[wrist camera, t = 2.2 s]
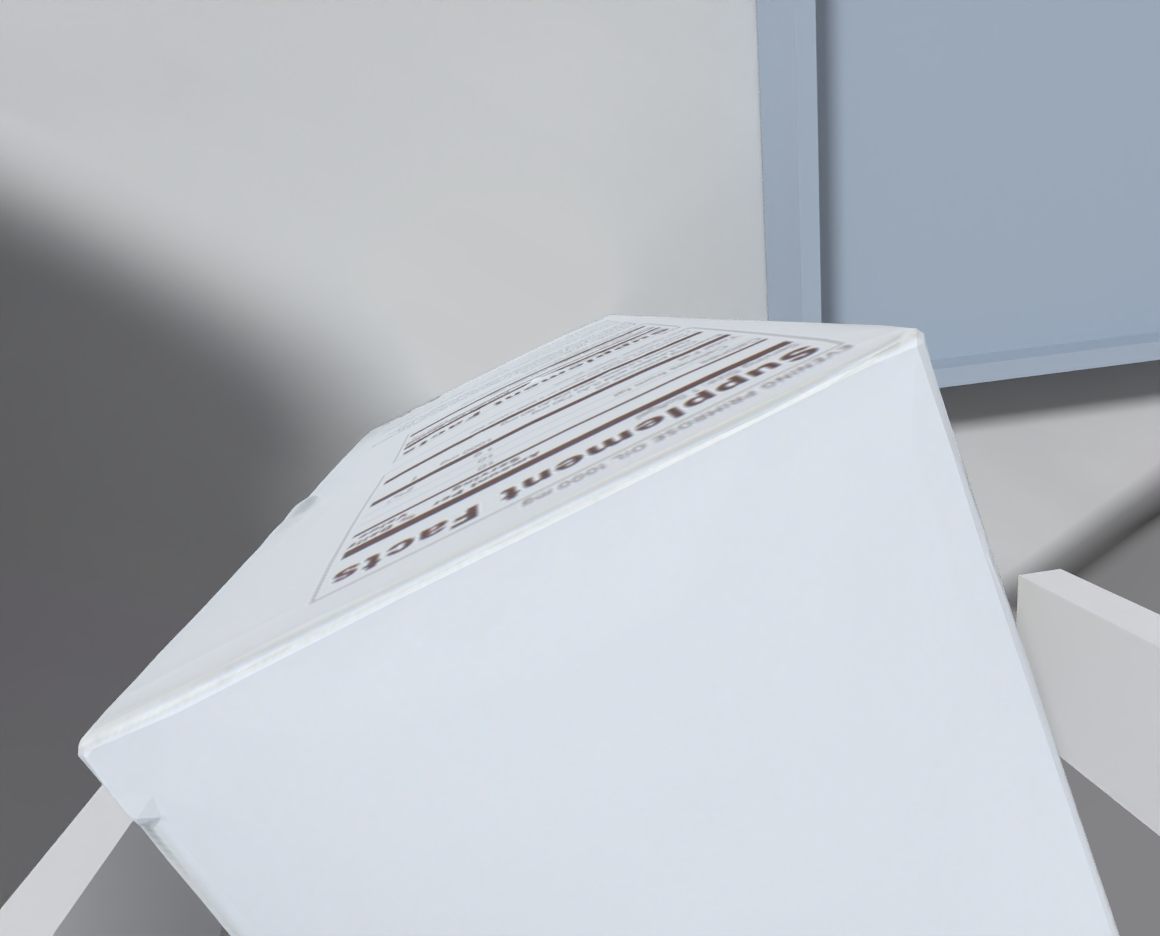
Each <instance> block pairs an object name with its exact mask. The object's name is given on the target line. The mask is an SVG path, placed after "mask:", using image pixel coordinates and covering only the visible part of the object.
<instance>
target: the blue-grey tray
mask: <svg viewBox="0 0 1160 936" xmlns="http://www.w3.org/2000/svg"><path fill="white" fill-rule="evenodd" d="M756 7H757V34H758V61H759V89H760V116H761V143H762V170H763V197H764V224H765V252H766V279H767V306H768V321H784V322H810V323H834V324H860V325H884V326H895V327H905V328H917V329H918V330H919V331H921V332H922V333H924V335H925V339H926V343H927V347H928V352H929V356H930V360H931V364H932V368H933V371H934V374H935V377H936V380H937V383H938V386H939V388H943V387H951V386H959V385H966V384H974V383H982V382H990V381H998V380H1005V379H1013V378H1021V377H1029V376H1036V375H1044V374H1052V373H1060V372H1068V371H1075V370H1083V369H1091V368H1099V367H1106V366H1114V365H1122V364H1130V363H1138V362H1145V361H1153V360H1160V0H756Z"/></svg>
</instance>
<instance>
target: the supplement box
mask: <svg viewBox="0 0 1160 936" xmlns="http://www.w3.org/2000/svg"><path fill="white" fill-rule="evenodd" d="M78 756H79V757H80V758H81V760H82V761H83V762H84V763H85V764H86V765H87V767H88V768H89V769H90V770H91V771H92V773H93V774H94V775H95V776H96V777H97V778H98V780H99V781H100V782H101V783H102V784H103V786H104V787H105V788H106V789H107V790H108V792H109V793H110V794H111V795H112V797H113V798H114V799H115V800H116V802H117V803H118V804H119V805H120V807H121V808H122V809H123V810H124V812H125V813H126V814H127V816H128V817H129V818H131V819H132V820H133V821H134V822H136V823H137V824H138V825H139V826H141V828H142V829H143V830H144V831H145V833H146V834H147V835H148V836H149V838H150V839H151V840H152V841H153V843H154V844H155V845H156V846H157V848H158V849H159V850H160V851H161V853H162V854H163V855H164V856H165V858H166V859H167V860H168V861H169V863H170V864H171V865H172V866H173V867H174V868H175V870H176V871H177V872H178V873H179V874H180V876H181V877H182V878H183V879H184V880H185V881H186V883H187V884H188V885H189V886H190V887H191V889H192V890H193V891H194V892H195V893H196V894H197V896H198V897H199V898H200V899H201V900H202V902H203V903H204V904H205V905H206V906H207V908H208V909H209V910H210V911H211V913H212V914H213V915H214V916H215V918H216V919H217V920H218V921H219V922H220V924H221V925H222V926H223V927H224V929H225V930H226V931H227V932H228V934H229V935H230V936H1119V933H1118V930H1117V927H1116V924H1115V921H1114V918H1113V915H1112V912H1111V909H1110V906H1109V903H1108V900H1107V897H1106V894H1105V891H1104V888H1103V885H1102V882H1101V879H1100V876H1099V873H1098V871H1097V867H1096V865H1095V861H1094V859H1093V855H1092V853H1091V849H1090V846H1089V844H1088V840H1087V838H1086V835H1085V832H1084V828H1083V825H1082V822H1081V819H1080V816H1079V813H1078V810H1077V807H1076V804H1075V801H1074V798H1073V795H1072V792H1071V789H1070V786H1069V783H1068V780H1067V777H1066V774H1065V771H1064V768H1063V765H1062V762H1061V759H1060V756H1059V753H1058V750H1057V747H1056V744H1055V741H1054V738H1053V735H1052V732H1051V729H1050V726H1049V723H1048V720H1047V716H1046V713H1045V710H1044V707H1043V704H1042V701H1041V698H1040V695H1039V692H1038V689H1037V686H1036V683H1035V680H1034V677H1033V674H1032V671H1031V668H1030V665H1029V662H1028V659H1027V656H1026V652H1025V649H1024V647H1023V644H1022V641H1021V638H1020V635H1019V632H1018V629H1017V626H1016V623H1015V620H1014V617H1013V614H1012V611H1011V608H1010V605H1009V602H1008V599H1007V596H1006V593H1005V590H1004V587H1003V584H1002V581H1001V578H1000V575H999V571H998V568H997V565H996V563H995V560H994V557H993V554H992V551H991V548H990V545H989V543H988V540H987V537H986V534H985V531H984V528H983V525H982V522H981V518H980V515H979V512H978V509H977V506H976V502H975V499H974V496H973V493H972V489H971V486H970V483H969V480H968V477H967V474H966V471H965V468H964V464H963V461H962V458H961V455H960V452H959V449H958V446H957V443H956V440H955V437H954V433H953V430H952V427H951V424H950V421H949V418H948V415H947V412H946V408H945V405H944V402H943V399H942V396H941V393H940V390H939V386H938V383H937V380H936V377H935V374H934V371H933V368H932V364H931V360H930V356H929V352H928V347H927V343H926V339H925V335H924V333H922V332H921V331H919V330H918V329H917V328H905V327H895V326H884V325H860V324H834V323H810V322H784V321H757V320H724V319H709V318H682V317H658V316H627V315H609V316H606V317H604V318H601V319H598V320H596V321H593V322H591V323H589V324H587V325H584V326H582V327H580V328H578V329H576V330H573V331H571V332H569V333H567V334H565V335H563V336H561V337H559V338H556V339H554V340H552V341H550V342H548V343H546V344H544V345H542V346H540V347H538V348H536V349H534V350H532V351H530V352H528V353H526V354H523V355H521V356H519V357H517V358H515V359H513V360H511V361H509V362H507V363H505V364H503V365H501V366H499V367H497V368H495V369H493V370H491V371H489V372H487V373H485V374H483V375H481V376H479V377H477V378H475V379H473V380H471V381H469V382H467V383H465V384H463V385H461V386H459V387H457V388H455V389H453V390H451V391H449V392H447V393H445V394H443V395H441V396H439V397H438V398H436V399H434V400H432V401H430V402H428V403H426V404H424V405H422V406H420V407H417V408H415V409H413V410H411V411H409V412H407V413H405V414H403V415H401V416H399V417H397V418H395V419H393V420H391V421H389V422H387V423H385V424H383V425H381V426H379V427H377V428H375V429H373V430H371V431H370V432H368V433H367V434H366V435H365V436H364V437H363V438H362V439H361V440H360V441H359V442H358V443H357V444H356V445H355V446H354V448H353V449H352V450H351V451H350V452H349V453H348V454H347V455H346V456H345V457H344V458H343V459H342V460H341V461H340V463H339V464H338V465H337V466H336V467H335V468H334V469H333V470H332V471H331V472H330V473H329V474H328V475H327V477H326V478H325V479H324V480H323V481H322V482H321V483H320V484H319V485H318V486H317V488H316V489H315V490H314V491H313V492H312V493H311V495H310V496H309V497H308V498H306V499H305V500H303V501H301V502H300V503H298V504H297V505H296V506H295V507H294V508H293V509H292V510H291V512H290V513H289V514H288V515H287V517H286V518H285V519H284V521H283V522H282V523H281V524H280V525H279V526H278V527H277V528H276V529H275V530H273V531H272V533H271V534H270V535H269V536H268V537H267V539H266V540H265V541H264V542H263V544H262V545H261V546H260V547H259V548H258V549H257V550H256V551H255V552H254V553H253V555H252V556H251V557H250V558H249V559H248V560H247V561H246V562H245V563H244V564H243V565H242V566H241V567H240V568H239V570H238V571H237V572H236V573H235V574H234V575H233V576H232V577H231V578H230V579H229V580H228V581H227V583H226V584H225V585H224V586H223V587H222V588H221V589H220V590H219V591H218V592H217V593H216V594H215V596H214V597H213V598H212V599H211V600H210V601H209V602H208V603H207V604H206V605H205V606H204V607H203V608H202V609H201V610H200V611H199V612H198V614H197V615H196V616H195V617H194V618H193V619H192V620H191V621H190V622H189V623H188V624H187V625H186V626H185V627H184V628H183V629H182V630H181V631H180V632H179V633H178V634H177V635H176V636H175V637H174V638H173V639H172V640H171V641H170V642H169V644H168V645H167V646H166V647H165V648H164V649H163V650H162V651H161V652H160V653H159V654H158V655H157V656H156V657H155V658H154V660H153V661H152V662H151V663H150V664H149V665H148V666H147V667H146V668H145V669H144V671H143V672H142V673H141V674H140V675H139V676H138V677H137V678H136V679H135V680H134V681H133V682H132V683H131V685H130V686H129V687H128V688H127V689H126V690H125V691H124V692H123V693H122V694H121V695H120V696H119V697H118V698H117V699H116V700H115V701H114V702H113V703H112V704H111V706H110V707H109V708H108V709H107V710H106V711H105V712H104V713H103V714H102V715H101V717H100V718H99V719H98V720H97V721H96V722H95V724H94V725H93V726H92V727H91V728H90V729H89V730H88V732H87V733H86V734H85V735H84V736H83V737H82V739H81V740H80V743H79V746H78Z"/></svg>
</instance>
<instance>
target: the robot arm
mask: <svg viewBox="0 0 1160 936" xmlns="http://www.w3.org/2000/svg"><path fill="white" fill-rule="evenodd" d="M1016 626H1017V629H1018V632H1019V635H1020V638H1021V641H1022V644H1023V647H1024V649H1025V652H1026V656H1027V659H1028V662H1029V665H1030V668H1031V671H1032V674H1033V677H1034V680H1035V683H1036V686H1037V689H1038V692H1039V695H1040V698H1041V701H1042V704H1043V707H1044V710H1045V713H1046V716H1047V720H1048V723H1049V726H1050V729H1051V732H1052V735H1053V738H1054V741H1055V744H1056V747H1057V750H1058V753H1059V756H1060V757H1061V758H1062V759H1064V760H1065V761H1066V762H1067V763H1069V764H1070V765H1071V766H1072V767H1074V768H1075V769H1076V770H1078V771H1079V772H1080V773H1081V774H1082V775H1084V776H1085V777H1086V778H1088V779H1089V780H1090V781H1091V782H1093V783H1094V784H1095V785H1096V786H1098V787H1099V788H1100V789H1102V790H1103V791H1104V792H1105V793H1106V794H1108V795H1109V796H1110V797H1112V798H1113V799H1114V800H1115V801H1116V802H1118V803H1119V804H1120V805H1122V806H1123V807H1124V808H1125V809H1127V810H1128V811H1129V812H1130V813H1132V814H1133V815H1134V816H1135V817H1137V818H1138V819H1139V820H1141V821H1142V822H1143V823H1144V824H1145V825H1147V826H1148V827H1149V828H1151V829H1152V830H1153V831H1154V832H1156V833H1157V834H1158V835H1159V836H1160V615H1159V614H1157V613H1155V612H1152V611H1150V610H1148V609H1146V608H1144V607H1142V606H1139V605H1137V604H1135V603H1133V602H1131V601H1129V600H1126V599H1124V598H1122V597H1120V596H1117V595H1116V594H1113V593H1111V592H1109V591H1107V590H1105V589H1102V588H1100V587H1098V586H1096V585H1094V584H1092V583H1090V582H1087V581H1085V580H1083V579H1081V578H1079V577H1077V576H1074V575H1072V574H1070V573H1068V572H1066V571H1064V570H1061V569H1057V570H1051V571H1044V572H1038V573H1031V574H1025V575H1019V580H1018V601H1017V622H1016ZM222 930H223V926H222V925H221V924H220V922H219V921H218V920H217V919H216V918H215V916H214V915H213V914H212V913H211V911H210V910H209V909H208V908H207V906H206V905H205V904H204V903H203V902H202V900H201V899H200V898H199V897H198V896H197V894H196V893H195V892H194V891H193V890H192V889H191V887H190V886H189V885H188V884H187V883H186V881H185V880H184V879H183V878H182V877H181V876H180V874H179V873H178V872H177V871H176V870H175V868H174V867H173V866H172V865H171V864H170V863H169V861H168V860H167V859H166V858H165V856H164V855H163V854H162V853H161V851H160V850H159V849H158V848H157V846H156V845H155V844H154V843H153V841H152V840H151V839H150V838H149V836H148V835H147V834H146V833H145V831H144V830H143V829H142V828H141V826H139V825H138V824H137V823H136V822H134V821H133V820H132V819H131V818H129V817H128V816H127V814H126V813H125V812H124V810H123V809H122V808H121V807H120V805H119V804H118V803H117V802H116V800H115V799H114V798H113V797H112V795H111V794H110V793H109V792H108V790H107V789H106V788H105V787H104V786H103V784H102V786H101V787H100V788H99V789H98V791H97V792H96V793H95V794H94V795H93V797H92V798H91V799H90V800H89V802H88V803H87V804H86V805H85V806H84V808H83V809H82V810H81V811H80V813H79V814H78V815H77V816H76V817H75V819H74V820H73V821H72V822H71V824H70V825H69V826H68V827H67V828H66V830H65V831H64V832H63V833H62V835H61V836H60V837H59V838H58V839H57V841H56V842H55V843H54V844H53V846H52V847H51V848H50V849H49V850H48V852H47V853H46V854H45V855H44V857H43V858H42V859H41V860H40V861H39V863H38V864H37V865H36V866H35V868H34V869H33V870H32V871H31V872H30V874H29V875H28V876H27V877H26V879H25V880H24V881H23V882H22V883H21V885H20V886H19V887H18V888H17V890H16V891H15V892H14V893H13V894H12V896H11V897H10V898H9V899H8V901H7V902H6V903H5V904H4V905H3V907H2V908H1V909H0V936H220V934H221V932H222Z"/></svg>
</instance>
